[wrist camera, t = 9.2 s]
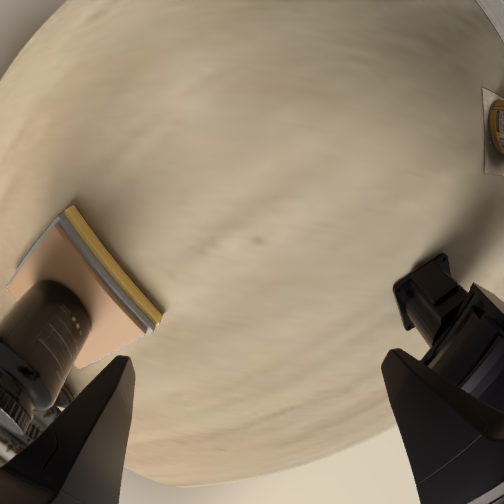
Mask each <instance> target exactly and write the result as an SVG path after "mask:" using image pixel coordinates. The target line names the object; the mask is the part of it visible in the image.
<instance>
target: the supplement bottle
mask: <svg viewBox="0 0 504 504" xmlns="http://www.w3.org/2000/svg"><path fill="white" fill-rule="evenodd" d="M89 333H90V320H89V316H88V313H87V311H86V309H85V307H84V305H83V304H82V302H81V301H80V299H79V298H78V297H77V296H76V295H75V294H74V293H73V292H72V291H71V290H70V289H69V288H67V287H66V286H64V285H63V284H61V283H59V282H57V281H53V280H40V281H38V282H36V283H35V284H34V285H33V286H32V287H31V288H30V289H29V290H28V291H27V292H26V293H25V294H24V295H23V296H22V297H21V298H20V299H19V300H18V301H17V302H16V303H15V304H14V305H13V306H12V308H11V309H10V310H9V311H8V312H7V313H6V314H5V315H4V317H3V318H2V319H1V320H0V424H2V425H3V426H5V427H6V428H8V429H9V430H11V431H12V432H14V433H16V434H19V435H25V433H26V431H27V428H28V426H29V424H30V422H31V421H32V419H33V417H34V415H33V412H32V411H33V410H34V411H44V410H47V409H49V408H51V407H52V406H53V404H54V403H55V401H56V399H57V397H58V395H59V392H60V390H61V388H62V386H63V384H64V382H65V380H66V378H67V376H68V374H69V372H70V370H71V368H72V366H73V364H74V362H75V361H76V359H77V357H78V355H79V353H80V351H81V349H82V347H83V346H84V344H85V342H86V340H87V338H88V336H89Z"/></svg>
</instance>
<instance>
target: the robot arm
mask: <svg viewBox="0 0 504 504" xmlns="http://www.w3.org/2000/svg"><path fill="white" fill-rule="evenodd" d="M398 288H399V289H398ZM397 289H398V290H397ZM393 293H394V296H395V299H396V302H397V305H398V309H399V312H400V315H401V319H402V322H403V325H404V328H405V329H406V330H407V331H409V330H411V329H412V328H414V327H416V328H417V330H418V331H419V332H420V334H421V335H422V337H423V338H424V339H425V341H426V342H427V344H428V345H429V347H430V349H429V351H428V352H427V353H426V354H425V356H424V357H423V358H422V359H421V360H417V359H416V358H414V357H413V356H411V355H409V354H408V353H406V352H405V351H403V350H402V349H400V348H396V349H391V350H389V352H388V353H387V355H386V357H385V359H384V361H383V363H382V365H381V370H382V374H383V378H384V382H385V386H386V389H387V393H388V397H389V401H390V404H391V407H392V410H393V413H394V416H395V419H396V422H397V424H398V427H399V430H400V433H401V436H402V439H403V443H404V446H405V449H406V452H407V455H408V458H409V462H410V465H411V469H412V472H413V476H414V479H415V483H416V487H417V491H418V494H419V498H420V503H421V504H504V302H503V301H501V300H500V299H499V298H498V297H497V296H496V295H494V294H493V293H491V292H489V291H488V290H486V289H484V288H482V287H481V286H479V285H477V284H475V283H474V282H473V284H472V285H471V287H470V291H469V292H467V291H466V290H465V289H464V288H463V287H461V286H460V285H459V284H458V283H457V281H456V280H454V279H453V278H452V277H451V274H450V268H449V262H448V256H447V255H446V254H445V253H441V254H440V255H438V256H437V257H436V258H434V259H433V260H431V261H430V262H429V263H427V264H426V265H424V266H423V267H421V268H420V269H418V270H417V271H415V272H414V273H412V274H411V275H409V276H408V277H406V278H405V279H403V280H402V281H400V282H399V283H397V284H396V285H395V286H394V287H393ZM134 386H135V371H134V368H133V365H132V361H131V358H130V357H129V356H122V355H118V356H116V357H115V358H114V359H113V360H112V361H111V362H110V363H109V364H108V365H107V366H106V367H105V368H104V369H103V370H102V371H101V372H100V373H99V374H98V375H97V376H96V377H95V378H94V379H93V380H92V381H91V382H90V383H89V384H88V385H87V386H86V387H85V388H84V389H83V391H82V392H81V393H80V394H79V395H78V396H77V397H76V398H75V399H74V400H73V401H72V402H71V403H70V404H69V405H68V406H67V407H66V408H65V409H64V410H63V411H62V412H61V413H60V414H59V415H58V416H57V417H56V418H55V419H54V421H53V422H51V423H50V425H49V426H48V427H47V428H46V429H45V430H44V431H43V432H42V433H41V434H40V435H39V436H38V437H37V438H36V439H34V440H33V441H32V442H31V443H30V444H29V445H28V446H26V447H25V448H24V449H23V450H22V451H20V452H19V453H18V454H17V455H15V456H14V457H13V458H12V459H11V460H9V461H8V462H7V463H6V464H4V465H3V466H1V467H0V504H119V495H120V487H121V479H122V472H123V465H124V459H125V453H126V447H127V441H128V436H129V430H130V425H131V419H132V409H133V397H134Z"/></svg>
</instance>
